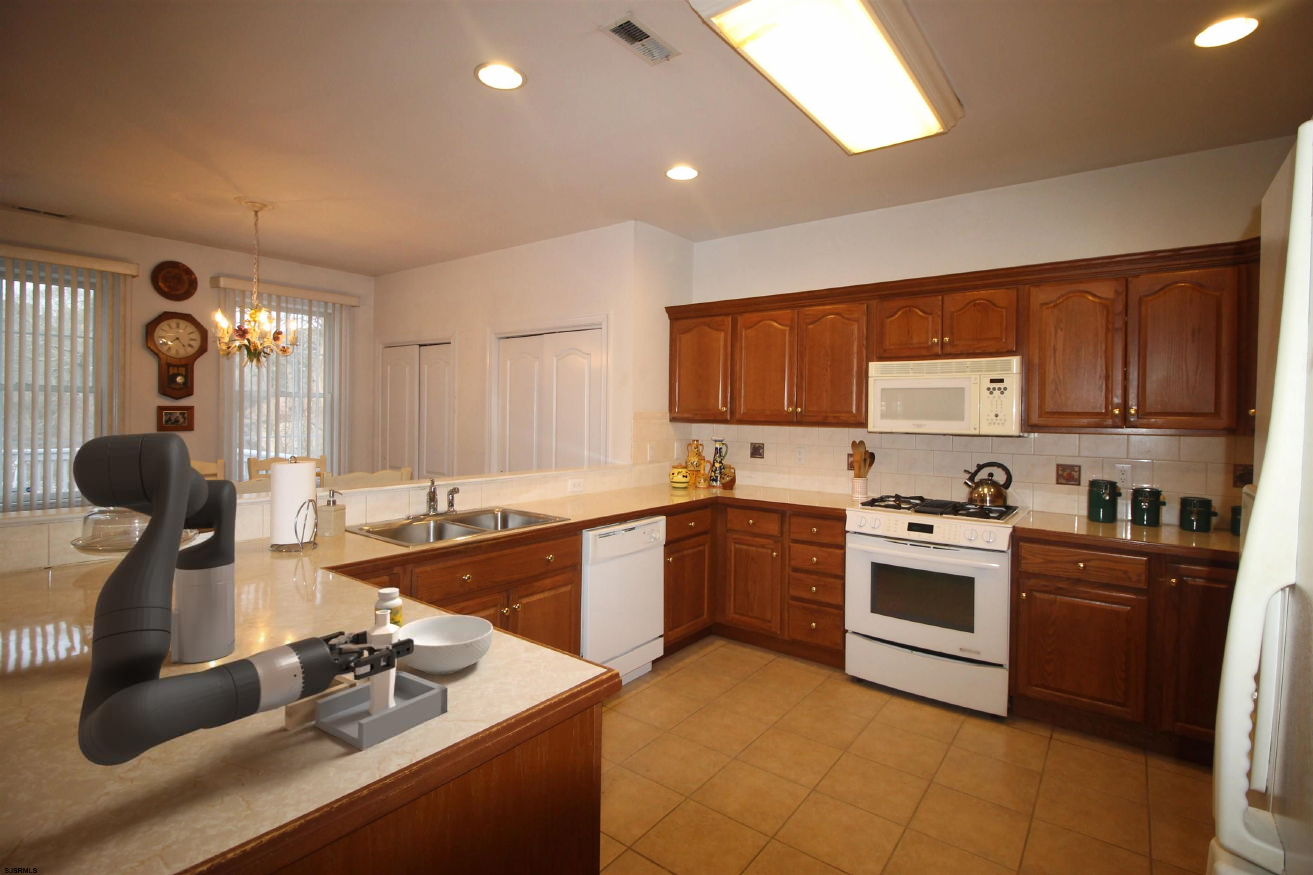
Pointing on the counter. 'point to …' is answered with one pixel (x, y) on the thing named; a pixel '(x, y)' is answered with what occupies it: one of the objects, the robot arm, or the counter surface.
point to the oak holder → (313, 703)
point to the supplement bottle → (390, 605)
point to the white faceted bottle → (385, 680)
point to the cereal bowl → (446, 642)
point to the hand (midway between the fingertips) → (395, 639)
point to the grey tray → (364, 730)
